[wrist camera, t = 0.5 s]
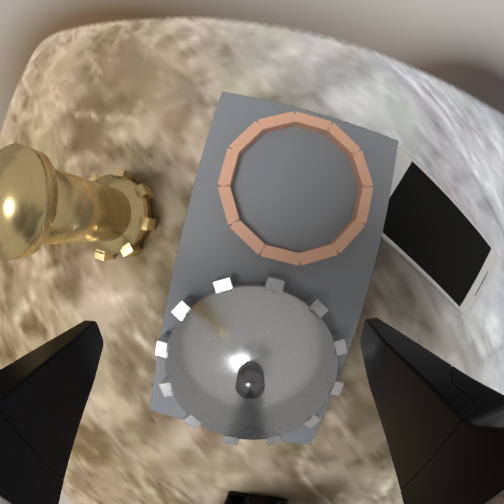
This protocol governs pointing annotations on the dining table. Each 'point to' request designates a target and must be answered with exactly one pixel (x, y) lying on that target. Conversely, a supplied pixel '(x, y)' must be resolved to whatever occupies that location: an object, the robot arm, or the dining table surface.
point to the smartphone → (436, 235)
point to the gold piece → (68, 208)
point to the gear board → (283, 216)
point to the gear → (251, 360)
